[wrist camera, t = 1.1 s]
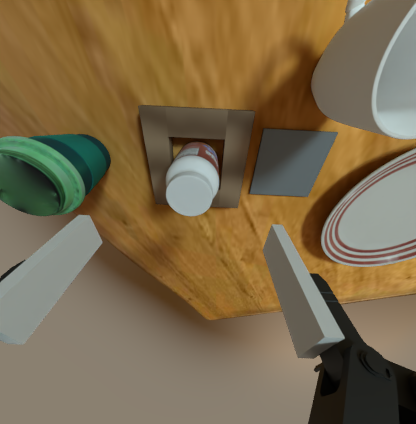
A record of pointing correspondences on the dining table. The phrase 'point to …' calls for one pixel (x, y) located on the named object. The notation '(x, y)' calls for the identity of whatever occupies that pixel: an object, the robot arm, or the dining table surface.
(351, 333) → the robot arm
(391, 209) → the dinner plate
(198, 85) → the dining table surface
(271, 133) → the coaster
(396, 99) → the mug
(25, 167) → the cup
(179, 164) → the pill bottle
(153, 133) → the collar
